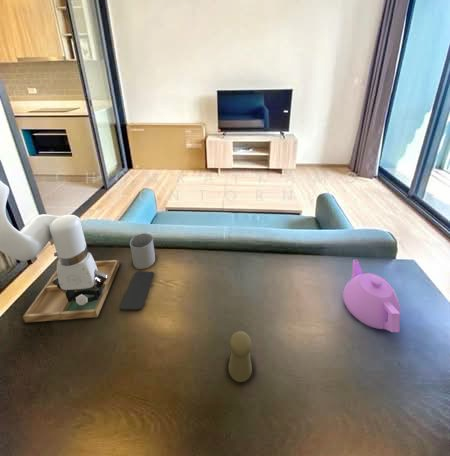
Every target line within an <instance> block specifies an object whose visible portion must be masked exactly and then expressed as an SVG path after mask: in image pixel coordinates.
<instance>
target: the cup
mask: <svg viewBox="0 0 450 456" xmlns="http://www.w3.org/2000/svg"><path fill="white" fill-rule="evenodd" d="M129 247H130V253H131V258H132V264H133V267H134V268H136V269H138V270H144V269H148V268H150V267H151V266H152V265H154V263H155V262H156V254H155V246H154V237H153V236H152V234H150V233H147V232H145V233H144V232H143V233H139V234H136V235H135V236H133V237H132V238H131V239H130V240H129Z"/></svg>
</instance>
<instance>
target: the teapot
mask: <svg viewBox="0 0 450 456" xmlns="http://www.w3.org/2000/svg"><path fill="white" fill-rule="evenodd" d="M342 299H343V301H344V302H343V303H344V304H345V306H346V308H347V310H348V311H349V312H350V314H351V315H352V316H353V317H355V319H356V320H358V321H359V322H360V323H363V324H364V325H366V326H368V327H369V328H373V329H379V330H386V331H387V332H391V333H400V332H401V331H400V328H401V315H402V314H401V305H400V301H399V298H398V295H397V294H396V292H395V289H394V288H393V287H392V286H391V284H390V283H389V282H388V281H387V280H386V279H385V278H383V277H381V276H380V275H378V274H375V273H371V272H367V273H366V272H365V273H363V269H362V268H361V265H360V261H359V260H358V259H352V269H351V279H350V280H349V281H348V282H347V283H346V285H345V286H344V289H343V292H342Z"/></svg>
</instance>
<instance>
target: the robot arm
mask: <svg viewBox="0 0 450 456" xmlns="http://www.w3.org/2000/svg"><path fill="white" fill-rule="evenodd" d="M9 195H10V187H9V186H8V185H7V184H6V183H4V182H3V181H2V180H0V252H1V253H3V254H4V255H6V256H8V257H9V258H12V259H13V260H17V261H29V260H32V259H35V258H36V257H37V256H39V254H40V253H41V252H42V251H43V250H44V249H45V248H46V246H47V245H48V243H49V242H50V241H52V242H53V245H54V248H55V251H54V252H53V257H57V259H58V260H57V261H56V270H57V277H56V278H54V280H53V281H52V283H53V284H54V285H56V286H57V287H58V288H59V289H61V290H63V291H62V292H63V293H65V294H66V297H67V299H68V302H71V301H72V299H73V296H72V295H73V294H74V293H75V291H74V289H86V288H91V287H92V288H93V289H94V291H93V293H94V297H95V300H98V299H99V296H101V294H102V289H101V286H102V285H103V284H104V282H105V281H106V279H107V277H108V275H106V274H104V273H101V272H99V271H98V269H97V266H96V263H95V259H94V257H93V255H92V253H91V252H89V250H88V245H87V242H86V238H85V234H84V230H83V227H82V223H81V219H80V217H79V216H77V215H76V214H65V215H53V214H46V213H44V214H43V213H42V214H38V215H35V216H34V217H33V218H31V220H30V221H28V222H27V224H25V225H24V226H22V228H21V229H20V230H18V229H17V228H16V227H14V226H13V225H12V223H10V221H9V219H8V216H7V212H6V207H7V202H8V198H9ZM98 278H99V279H101V280H99V279H98ZM95 282H96V283H97V284H95Z"/></svg>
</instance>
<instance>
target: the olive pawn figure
mask: <svg viewBox="0 0 450 456" xmlns="http://www.w3.org/2000/svg"><path fill="white" fill-rule="evenodd" d="M229 347H230V350H231V352H230V357H229V361H228V362H229V363H228V373H229V375H230V377H231V378H232V379H233V380H234V381H235V382H238V383H243V382H246V381H247V380H249V379H250V377H251V375H252V373H253V372H252V371H253V366H252V360H251V353H250V352H251V350H252V340H251V337H250V335H249V334H248V333H247V332H245V331H242V330H241V331H240V330H238V331H235V333H233V334H232V336H231V338H230V341H229Z"/></svg>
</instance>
